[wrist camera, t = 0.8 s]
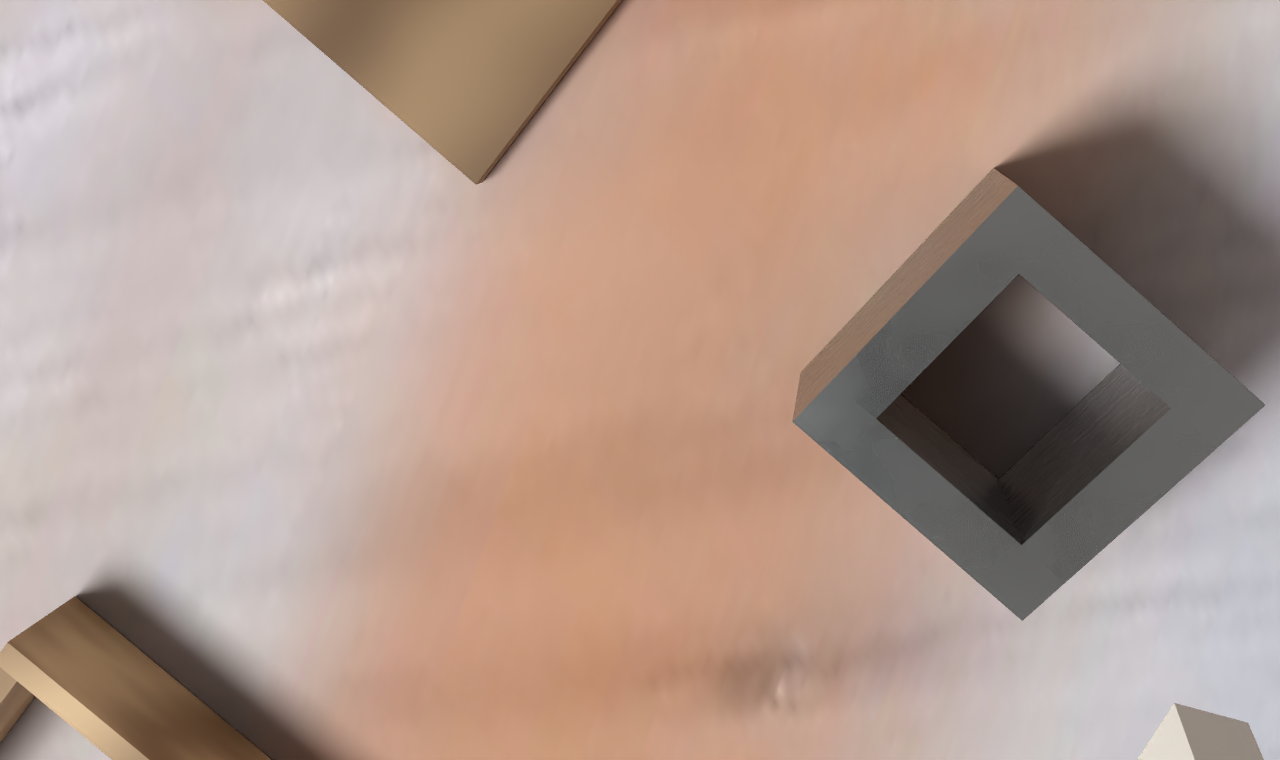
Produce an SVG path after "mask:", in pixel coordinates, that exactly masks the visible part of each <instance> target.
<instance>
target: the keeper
mask: <svg viewBox="0 0 1280 760" xmlns="http://www.w3.org/2000/svg"><path fill="white" fill-rule="evenodd" d="M263 1H264V2H265V3H267V4H268V5H269V6H270V7H271V8H272V9H274V10H275V11H276V12H277V13H278V14H279V15H280V16H282V17H283V18H284V19H285V20H286V21H287V22H289V23H290V24H291V25H292V26H293V27H294V28H296V29H297V30H298V31H299V32H300V33H301V34H302V35H304V36H305V37H306V38H307V39H308V40H309V41H311V42H312V43H313V44H314V45H315V46H316V47H317V48H319V49H320V50H321V51H322V52H323V53H324V54H326V55H327V56H328V57H329V58H330V59H331V60H333V61H334V62H335V63H336V64H337V65H338V66H339V67H341V68H342V69H343V70H344V71H345V72H346V73H348V74H349V75H350V76H351V77H352V78H353V79H354V80H356V81H357V82H358V83H359V84H360V85H361V86H363V87H364V88H365V89H366V90H367V91H368V92H370V93H371V94H372V95H373V96H374V97H375V98H376V99H378V100H379V101H380V102H381V103H382V104H383V105H385V106H386V107H387V108H388V109H389V110H390V111H392V112H393V113H394V114H395V115H396V116H397V117H398V118H400V119H401V120H402V121H403V122H404V123H405V124H407V125H408V126H409V127H410V128H411V129H412V130H413V131H415V132H416V133H417V134H418V135H419V136H420V137H422V138H423V139H424V140H425V141H426V142H427V143H429V144H430V145H431V146H432V147H433V148H434V149H435V150H437V151H438V152H439V153H440V154H441V155H442V156H444V157H445V158H446V159H447V160H448V161H449V162H451V163H452V164H453V165H454V166H455V167H456V168H457V169H459V170H460V171H461V172H462V173H463V174H464V175H466V176H467V177H468V178H469V179H470V180H471V181H472V182H474V183H475V184H479V183H482V182H483V180H484V179H485V178H486V176H487V175H488V174H489V173H490V171H491V170H492V169H493V167H494V166H495V165H496V163H497V162H498V161H499V160H500V158H501V157H502V156H503V154H504V153H505V152H506V150H507V149H508V148H509V147H510V145H511V144H512V143H513V141H514V140H515V139H516V137H517V136H518V135H519V134H520V132H521V131H522V130H523V128H524V127H525V126H526V124H527V123H528V122H529V121H530V119H531V118H532V117H533V115H534V114H535V113H536V111H537V110H538V109H539V108H540V106H541V105H542V104H543V102H544V101H545V100H546V98H547V97H548V96H549V95H550V93H551V92H552V91H553V89H554V88H555V87H556V85H557V84H558V83H559V82H560V80H561V79H562V78H563V76H564V75H565V74H566V72H567V71H568V70H569V69H570V67H571V66H572V65H573V63H574V62H575V61H576V59H577V58H578V57H579V56H580V54H581V53H582V52H583V50H584V49H585V48H586V46H587V45H588V44H589V43H590V41H591V40H592V39H593V37H594V36H595V35H596V33H597V32H598V31H599V30H600V28H601V27H602V26H603V24H604V23H605V22H606V20H607V19H608V18H609V16H610V15H611V14H612V13H613V11H614V10H615V9H616V7H617V6H618V5H619V3H620V2H621V1H622V0H263Z"/></svg>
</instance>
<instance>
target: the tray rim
mask: <svg viewBox="0 0 1280 760" xmlns="http://www.w3.org/2000/svg"><path fill="white" fill-rule="evenodd" d="M35 696H36V697H37V698H38V699H39V700H40V701H42V702H43V703H44V704H45V705H47V706H48V707H49V708H50V709H51V710H53V711H54V712H55V713H56V714H57V715H59V716H60V717H61V718H62V719H63V720H65V721H66V722H67V723H68V724H69V725H71V726H72V727H73V728H74V729H76V730H77V731H78V732H79V733H80V734H82V735H83V736H84V737H85V738H86V739H88V740H89V741H90V742H91V743H92V744H94V745H95V746H96V747H97V748H99V749H100V750H101V751H102V752H103V753H105V754H106V755H107V756H108V757H109V758H111V759H112V760H271V759H270V758H269V757H268V756H267V755H265V754H264V753H263V752H262V751H261V750H259V749H258V748H257V747H256V746H254V745H253V744H252V743H251V742H250V741H248V740H247V739H246V738H245V737H244V736H242V735H241V734H240V733H239V732H238V731H236V730H235V729H234V728H233V727H232V726H230V725H229V724H228V723H227V722H226V721H224V720H223V719H222V718H221V717H220V716H218V715H217V714H216V713H215V712H214V711H212V710H211V709H210V708H209V707H208V706H206V705H205V704H204V703H203V702H202V701H200V700H199V699H198V698H197V697H196V696H194V695H193V694H192V693H191V692H190V691H188V690H187V689H186V688H185V687H184V686H182V685H181V684H180V683H179V682H178V681H176V680H175V679H174V678H173V677H172V676H170V675H169V674H168V673H167V672H166V671H164V670H163V669H162V668H161V667H160V666H158V665H157V664H156V663H155V662H154V661H152V660H151V659H150V658H149V657H148V656H146V655H145V654H144V653H143V652H142V651H140V650H139V649H138V648H137V647H136V646H134V645H133V644H132V643H131V642H130V641H128V640H127V639H126V638H125V637H124V636H122V635H121V634H120V633H119V632H118V631H116V630H115V629H114V628H113V627H112V626H110V625H109V624H108V623H107V622H105V621H104V620H103V619H102V618H101V617H99V616H98V615H97V614H96V613H95V612H93V611H92V610H91V609H90V608H89V607H87V606H86V605H85V604H84V603H83V602H81V601H80V600H79V599H78V598H77V597H73V598H72V599H70V600H69V601H67V602H66V603H64V604H63V605H61V606H60V607H59V608H57V609H56V610H54V611H53V612H51V613H50V614H48V615H47V616H45V617H44V618H42V619H41V620H40V621H38V622H37V623H35V624H34V625H32V626H31V627H29V628H28V629H26V630H25V631H23V632H22V633H21V634H19V635H18V636H16V637H15V638H13V639H12V640H10V641H9V642H7V644H6V645H5V647H4V648H3V649H2V651H1V652H0V743H1V742H2V740H3V739H4V738H5V736H6V735H7V734H8V732H9V731H10V730H11V728H12V727H13V726H14V724H15V723H16V722H17V720H18V719H19V718H20V716H21V715H22V714H23V712H24V711H25V710H26V708H27V707H28V706H29V704H30V703H31V702H32V700H33V699H34V698H35Z"/></svg>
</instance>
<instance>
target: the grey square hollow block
mask: <svg viewBox="0 0 1280 760" xmlns="http://www.w3.org/2000/svg"><path fill="white" fill-rule="evenodd" d="M1018 274H1020V275H1021V276H1022V277H1023V278H1024V279H1025V280H1026V281H1028V282H1029V283H1030V284H1031V285H1032V286H1033V287H1034V288H1036V289H1037V290H1038V291H1039V292H1040V293H1041V294H1042V295H1043V296H1045V297H1046V298H1047V299H1048V300H1049V301H1050V302H1051V303H1053V304H1054V305H1055V306H1056V307H1057V308H1058V309H1059V310H1061V311H1062V312H1063V313H1064V314H1065V315H1066V316H1067V317H1068V318H1070V319H1071V320H1072V321H1073V322H1074V323H1075V324H1076V325H1078V326H1079V327H1080V328H1081V329H1082V330H1083V331H1084V332H1085V333H1087V334H1088V335H1089V336H1090V337H1091V338H1092V339H1093V340H1095V341H1096V342H1097V343H1098V344H1099V345H1100V346H1101V347H1102V348H1104V349H1105V350H1106V351H1107V352H1108V353H1109V354H1110V355H1112V356H1113V357H1114V358H1115V359H1116V360H1117V361H1118V362H1120V363H1121V364H1120V365H1119V366H1118V367H1117V368H1116V369H1115V370H1113V371H1112V372H1111V373H1110V374H1109V375H1108V376H1107V377H1106V378H1105V379H1104V380H1103V381H1102V382H1101V383H1100V384H1099V385H1098V386H1097V387H1096V388H1094V389H1093V390H1092V391H1091V392H1090V393H1089V394H1088V395H1087V396H1086V397H1085V398H1084V399H1083V400H1082V401H1081V402H1080V403H1079V404H1078V405H1077V406H1075V407H1074V408H1073V409H1072V410H1071V411H1070V412H1069V413H1068V414H1067V415H1066V416H1065V417H1064V418H1063V419H1062V420H1061V421H1060V422H1059V423H1058V424H1056V425H1055V426H1054V427H1053V428H1052V429H1051V430H1050V431H1049V432H1048V433H1047V434H1046V435H1045V436H1044V437H1043V438H1042V439H1041V440H1040V441H1038V442H1037V443H1036V444H1035V445H1034V446H1033V447H1032V448H1031V449H1030V450H1029V451H1028V452H1027V453H1026V454H1025V455H1024V456H1023V457H1022V458H1021V459H1019V460H1018V461H1017V462H1016V463H1015V464H1014V465H1013V466H1012V467H1011V468H1010V469H1009V470H1008V471H1007V472H1006V473H1005V474H1004V475H1003V476H1002V477H1000V478H999V479H997V478H996V477H995V476H994V475H993V474H992V473H990V472H989V471H988V470H987V469H986V468H985V467H984V466H982V465H981V464H980V463H979V462H978V461H977V460H975V459H974V458H973V457H972V456H971V455H970V454H969V453H967V452H966V451H965V450H964V449H963V448H962V447H961V446H959V445H958V444H957V443H956V442H955V441H954V440H953V439H951V438H950V437H949V436H948V435H947V434H946V433H945V432H943V431H942V430H941V429H940V428H939V427H938V426H936V425H935V424H934V423H933V422H932V421H931V420H930V419H928V418H927V417H926V416H925V415H924V414H923V413H922V412H920V411H919V410H918V409H917V408H916V407H915V406H914V405H912V404H911V403H910V402H909V401H908V400H907V399H905V398H904V397H903V396H902V395H901V393H902V392H903V391H904V390H905V389H906V388H907V387H908V386H909V385H910V384H911V383H912V382H913V381H914V380H915V379H916V378H917V377H918V376H919V375H920V374H921V373H922V372H923V371H924V370H925V369H926V367H927V366H928V365H929V364H930V363H931V362H932V361H933V360H934V359H935V358H936V357H937V356H938V355H939V354H940V353H941V352H942V351H943V350H944V349H945V348H946V347H947V346H948V345H949V344H950V343H951V342H952V341H953V340H954V339H955V338H956V337H957V336H958V335H959V334H960V333H961V332H962V331H963V330H964V329H965V328H966V327H967V326H968V325H969V324H970V323H971V322H972V321H973V320H974V319H975V318H976V317H977V316H978V315H979V314H980V313H981V312H982V311H983V310H984V309H985V308H986V307H987V306H988V305H989V304H990V303H991V302H992V301H993V300H994V299H995V298H996V296H997V295H998V294H999V293H1000V292H1001V291H1002V290H1003V289H1004V288H1005V287H1006V286H1007V285H1008V284H1009V283H1010V282H1011V281H1012V280H1013V279H1014V278H1015V277H1016V276H1017V275H1018ZM1264 406H1265V404H1264V403H1263V402H1262V401H1261V400H1259V399H1258V398H1257V397H1256V396H1255V395H1254V394H1253V393H1252V392H1250V391H1249V390H1248V389H1247V388H1246V387H1245V386H1244V385H1243V384H1241V383H1240V382H1239V381H1238V380H1237V379H1236V378H1235V377H1234V376H1232V375H1231V374H1230V373H1229V372H1228V371H1227V370H1226V369H1224V368H1223V367H1222V366H1221V365H1220V364H1219V363H1218V362H1217V361H1215V360H1214V359H1213V358H1212V357H1211V356H1210V355H1209V354H1208V353H1206V352H1205V351H1204V350H1203V349H1202V348H1201V347H1200V346H1198V345H1197V344H1196V343H1195V342H1194V341H1193V340H1192V339H1191V338H1189V337H1188V336H1187V335H1186V334H1185V333H1184V332H1183V331H1182V330H1180V329H1179V328H1178V327H1177V326H1176V325H1175V324H1174V323H1173V322H1171V321H1170V320H1169V319H1168V318H1167V317H1166V316H1165V315H1163V314H1162V313H1161V312H1160V311H1159V310H1158V309H1157V308H1156V307H1154V306H1153V305H1152V304H1151V303H1150V302H1149V301H1148V300H1147V299H1145V298H1144V297H1143V296H1142V295H1141V294H1140V293H1139V292H1137V291H1136V290H1135V289H1134V288H1133V287H1132V286H1131V285H1130V284H1128V283H1127V282H1126V281H1125V280H1124V279H1123V278H1122V277H1121V276H1119V275H1118V274H1117V273H1116V272H1115V271H1114V270H1113V269H1112V268H1110V267H1109V266H1108V265H1107V264H1106V263H1105V262H1104V261H1102V260H1101V259H1100V258H1099V257H1098V256H1097V255H1096V254H1095V253H1093V252H1092V251H1091V250H1090V249H1089V248H1088V247H1087V246H1086V245H1084V244H1083V243H1082V242H1081V241H1080V240H1079V239H1078V238H1076V237H1075V236H1074V235H1073V234H1072V233H1071V232H1070V231H1069V230H1067V229H1066V228H1065V227H1064V226H1063V225H1062V224H1061V223H1060V222H1058V221H1057V220H1056V219H1055V218H1054V217H1053V216H1052V215H1051V214H1049V213H1048V212H1047V211H1046V210H1045V209H1044V208H1043V207H1041V206H1040V205H1039V204H1038V203H1037V202H1036V201H1035V200H1034V199H1032V198H1031V197H1030V196H1029V195H1028V194H1027V193H1026V192H1025V191H1023V190H1022V189H1021V188H1020V187H1019V186H1018V185H1016V184H1015V183H1014V182H1012V181H1011V180H1009V179H1008V178H1007V177H1005V176H1004V175H1003V174H1001V173H1000V172H999V171H997V170H996V169H994V168H993V169H992V170H991V171H990V173H989V174H988V175H987V176H986V177H985V178H984V179H983V180H982V181H981V182H980V183H979V184H978V185H977V186H976V187H975V188H974V190H973V191H972V192H971V193H970V194H969V195H968V196H967V197H966V198H965V199H964V200H963V201H962V202H961V203H960V204H959V205H958V207H957V208H956V209H955V210H954V211H953V212H952V213H951V214H950V215H949V216H948V217H947V218H946V219H945V220H944V221H943V222H942V224H941V225H940V226H939V227H938V228H937V229H936V230H935V231H934V232H933V233H932V234H931V235H930V236H929V237H928V238H927V239H926V241H925V242H924V243H923V244H922V245H921V246H920V247H919V248H918V249H917V250H916V251H915V252H914V253H913V254H912V255H911V256H910V258H909V259H908V260H907V261H906V262H905V263H904V264H903V265H902V266H901V267H900V268H899V269H898V270H897V271H896V272H895V273H894V275H893V276H892V277H891V278H890V279H889V280H888V281H887V282H886V283H885V284H884V285H883V286H882V287H881V288H880V289H879V290H878V291H877V293H876V294H875V295H874V296H873V297H872V298H871V299H870V300H869V301H868V302H867V303H866V304H865V305H864V306H863V307H862V308H861V310H860V311H859V312H858V313H857V314H856V315H855V316H854V317H853V318H852V319H851V320H850V321H849V322H848V323H847V324H846V325H845V327H844V328H843V329H842V330H841V331H840V332H839V333H838V334H837V335H836V336H835V337H834V338H833V339H832V340H831V341H830V342H829V344H828V345H827V346H826V347H825V348H824V349H823V350H822V351H821V352H820V353H819V354H818V355H817V356H816V357H815V358H814V359H813V361H812V362H811V363H810V364H809V365H808V366H807V367H806V368H805V369H804V370H803V371H802V372H801V374H800V380H799V386H798V392H797V398H796V404H795V410H794V416H793V423H795V424H796V425H797V426H798V427H799V428H800V429H802V430H803V431H804V432H805V433H806V434H807V435H808V436H810V437H811V438H812V439H813V440H814V441H815V442H817V443H818V444H819V445H820V446H821V447H822V448H823V449H825V450H826V451H827V452H828V453H829V454H830V455H832V456H833V457H834V458H835V459H836V460H837V461H838V462H840V463H841V464H842V465H843V466H844V467H845V468H847V469H848V470H849V471H850V472H851V473H852V474H853V475H855V476H856V477H857V478H858V479H859V480H860V481H862V482H863V483H864V484H865V485H866V486H867V487H868V488H870V489H871V490H872V491H873V492H874V493H875V494H877V495H878V496H879V497H880V498H881V499H882V500H884V501H885V502H886V503H887V504H888V505H889V506H890V507H892V508H893V509H894V510H895V511H896V512H897V513H899V514H900V515H901V516H902V517H903V518H904V519H905V520H907V521H908V522H909V523H910V524H911V525H912V526H914V527H915V528H916V529H917V530H918V531H919V532H920V533H922V534H923V535H924V536H925V537H926V538H927V539H929V540H930V541H931V542H932V543H933V544H934V545H935V546H937V547H938V548H939V549H940V550H941V551H942V552H944V553H945V554H946V555H947V556H948V557H949V558H950V559H952V560H953V561H954V562H955V563H956V564H957V565H959V566H960V567H961V568H962V569H963V570H964V571H965V572H967V573H968V574H969V575H970V576H971V577H972V578H974V579H975V580H976V581H977V582H978V583H979V584H980V585H982V586H983V587H984V588H985V589H986V590H987V591H989V592H990V593H991V594H992V595H993V596H994V597H995V598H997V599H998V600H999V601H1000V602H1001V603H1002V604H1004V605H1005V606H1006V607H1007V608H1008V609H1009V610H1011V611H1012V612H1013V613H1014V614H1015V615H1016V616H1017V617H1019V618H1020V619H1021V620H1022V621H1023V620H1024V619H1025V618H1026V617H1027V616H1028V615H1029V614H1030V613H1032V612H1033V611H1034V610H1035V609H1036V608H1037V607H1038V606H1039V605H1041V604H1042V603H1043V602H1044V601H1045V600H1046V599H1047V598H1048V597H1050V596H1051V595H1052V594H1053V593H1054V592H1055V591H1056V590H1057V589H1059V588H1060V587H1061V586H1062V585H1063V584H1064V583H1065V582H1066V581H1068V580H1069V579H1070V578H1071V577H1072V576H1073V575H1074V574H1076V573H1077V572H1078V571H1079V570H1080V569H1081V568H1082V567H1083V566H1085V565H1086V564H1087V563H1088V562H1089V561H1090V560H1091V559H1092V558H1094V557H1095V556H1096V555H1097V554H1098V553H1099V552H1100V551H1101V550H1103V549H1104V548H1105V547H1106V546H1107V545H1108V544H1109V543H1110V542H1112V541H1113V540H1114V539H1115V538H1116V537H1117V536H1118V535H1119V534H1121V533H1122V532H1123V531H1124V530H1125V529H1126V528H1127V527H1128V526H1130V525H1131V524H1132V523H1133V522H1134V521H1135V520H1136V519H1137V518H1139V517H1140V516H1141V515H1142V514H1143V513H1144V512H1145V511H1147V510H1148V509H1149V508H1150V507H1151V506H1152V505H1153V504H1154V503H1156V502H1157V501H1158V500H1159V499H1160V498H1161V497H1162V496H1163V495H1165V494H1166V493H1167V492H1168V491H1169V490H1170V489H1171V488H1172V487H1174V486H1175V485H1176V484H1177V483H1178V482H1179V481H1180V480H1181V479H1183V478H1184V477H1185V476H1186V475H1187V474H1188V473H1189V472H1190V471H1192V470H1193V469H1194V468H1195V467H1196V466H1197V465H1198V464H1199V463H1201V462H1202V461H1203V460H1204V459H1205V458H1206V457H1207V456H1209V455H1210V454H1211V453H1212V452H1213V451H1214V450H1215V449H1216V448H1218V447H1219V446H1220V445H1221V444H1222V443H1223V442H1224V441H1225V440H1227V439H1228V438H1229V437H1230V436H1231V435H1232V434H1233V433H1234V432H1236V431H1237V430H1238V429H1239V428H1240V427H1241V426H1242V425H1243V424H1245V423H1246V422H1247V421H1248V420H1249V419H1250V418H1251V417H1252V416H1254V415H1255V414H1256V413H1257V412H1258V411H1259V410H1260V409H1261V408H1263V407H1264Z"/></svg>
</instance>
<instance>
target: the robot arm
mask: <svg viewBox="0 0 1280 760" xmlns="http://www.w3.org/2000/svg"><path fill="white" fill-rule="evenodd" d="M1138 760H1264V759H1263V757H1262V755H1261V752H1260V750H1259V748H1258V745H1257V743H1256V740H1255V738H1254V736H1253V733H1252V731H1251V729H1250V726H1249V724H1248V723H1247V722H1243V721H1239V720H1235V719H1232V718H1228V717H1224V716H1221V715H1217V714H1213V713H1209V712H1206V711H1202V710H1198V709H1195V708H1191V707H1187V706H1183V705H1180V704H1176V703H1174V704H1173V706H1172V707H1171V709H1170V711H1169V712H1168V714H1167V715H1166V717H1165V718H1164V720H1163V721H1162V723H1161V724H1160V726H1159V727H1158V729H1157V730H1156V732H1155V734H1154V735H1153V737H1152V738H1151V740H1150V741H1149V743H1148V744H1147V746H1146V747H1145V749H1144V750H1143V752H1142V753H1141V755H1140V756H1139V758H1138Z"/></svg>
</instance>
